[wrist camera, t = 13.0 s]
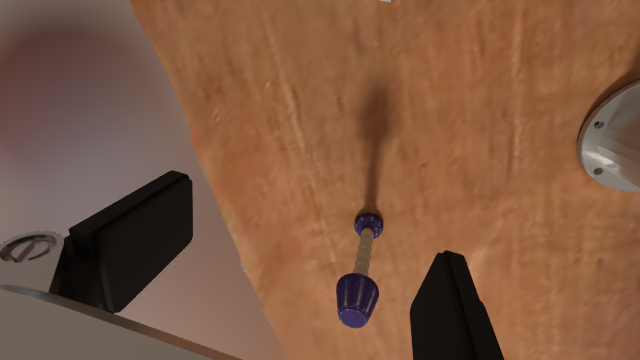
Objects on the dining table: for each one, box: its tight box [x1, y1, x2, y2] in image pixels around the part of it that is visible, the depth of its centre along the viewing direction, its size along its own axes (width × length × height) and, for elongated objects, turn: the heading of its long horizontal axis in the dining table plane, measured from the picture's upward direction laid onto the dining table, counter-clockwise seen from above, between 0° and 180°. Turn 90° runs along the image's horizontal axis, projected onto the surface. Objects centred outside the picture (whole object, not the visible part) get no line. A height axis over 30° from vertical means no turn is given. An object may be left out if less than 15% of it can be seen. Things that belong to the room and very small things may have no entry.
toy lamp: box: [336, 213, 383, 328], centre depth 36 cm, size 5×5×17 cm
